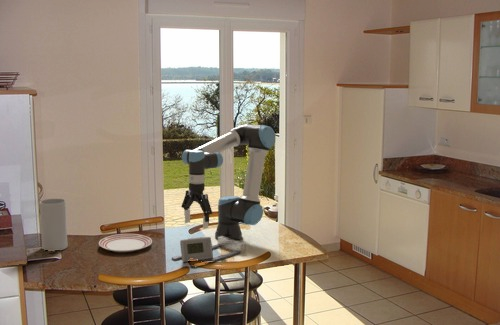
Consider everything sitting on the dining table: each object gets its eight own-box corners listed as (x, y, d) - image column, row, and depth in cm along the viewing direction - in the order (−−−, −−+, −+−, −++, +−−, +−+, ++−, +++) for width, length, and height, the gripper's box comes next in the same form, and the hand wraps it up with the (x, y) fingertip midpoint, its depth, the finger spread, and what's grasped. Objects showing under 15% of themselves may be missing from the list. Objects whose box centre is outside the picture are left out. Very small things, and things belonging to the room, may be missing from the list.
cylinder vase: (71, 248, 289) (69, 201, 285) (46, 253, 281) (44, 205, 277) (62, 243, 299) (60, 197, 295) (38, 247, 291) (36, 200, 287)
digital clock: (181, 263, 270) (181, 242, 268) (179, 257, 279) (179, 236, 277) (214, 261, 274) (214, 240, 272) (211, 255, 282) (211, 235, 281)
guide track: (171, 259, 275) (171, 249, 275) (222, 244, 300) (222, 235, 299) (194, 268, 264) (194, 258, 263) (244, 252, 288) (244, 242, 287)
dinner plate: (162, 247, 295) (162, 240, 295) (119, 259, 275) (118, 252, 275) (131, 236, 313) (131, 230, 313) (88, 247, 293) (88, 241, 293)
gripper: (174, 179, 275) (174, 221, 279) (208, 187, 258) (207, 231, 262) (186, 178, 281) (186, 218, 284) (220, 185, 264) (219, 229, 267)
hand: (196, 225), depth 273 cm, fingers open, 13 cm apart
